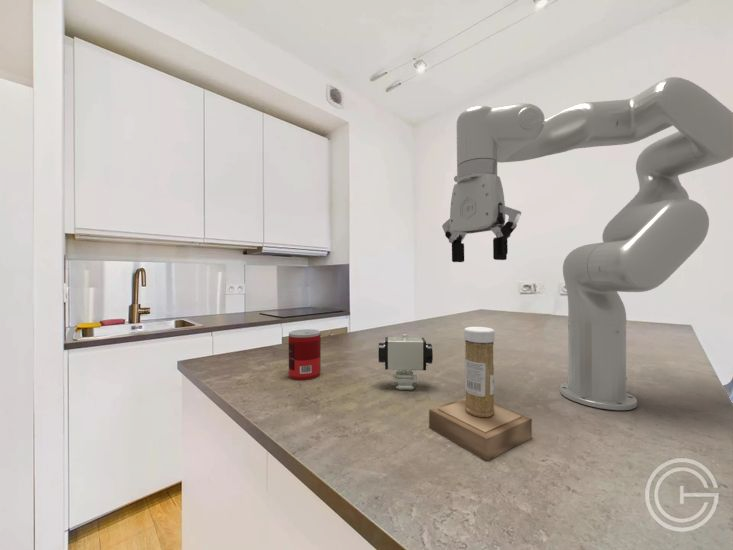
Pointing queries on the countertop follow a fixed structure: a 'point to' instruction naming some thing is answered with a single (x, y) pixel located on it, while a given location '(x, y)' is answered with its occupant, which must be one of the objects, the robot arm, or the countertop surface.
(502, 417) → the tan square tray
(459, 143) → the robot arm
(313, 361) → the canned food
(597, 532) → the countertop surface
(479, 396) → the sprinkles bottle
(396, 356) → the pneumatic valve
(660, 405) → the countertop surface
